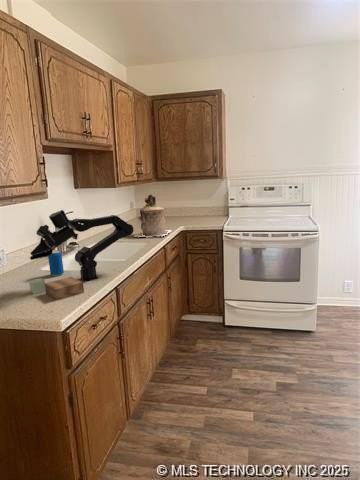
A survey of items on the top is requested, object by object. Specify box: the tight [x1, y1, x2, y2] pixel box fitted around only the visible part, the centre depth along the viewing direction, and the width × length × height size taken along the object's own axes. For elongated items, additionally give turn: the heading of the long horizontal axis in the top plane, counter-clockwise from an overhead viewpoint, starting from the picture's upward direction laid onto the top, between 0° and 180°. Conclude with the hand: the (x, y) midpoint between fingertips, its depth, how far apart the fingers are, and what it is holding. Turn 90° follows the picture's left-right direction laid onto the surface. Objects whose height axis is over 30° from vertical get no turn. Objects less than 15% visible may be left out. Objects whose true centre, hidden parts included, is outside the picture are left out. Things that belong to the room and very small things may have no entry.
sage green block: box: [28, 277, 46, 295], centre depth 155 cm, size 5×5×5 cm
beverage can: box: [47, 250, 65, 277], centre depth 178 cm, size 6×6×12 cm
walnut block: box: [45, 276, 85, 301], centre depth 150 cm, size 12×12×5 cm
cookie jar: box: [134, 193, 172, 238], centre depth 271 cm, size 25×25×32 cm
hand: (30, 256), depth 151 cm, fingers open, 9 cm apart
